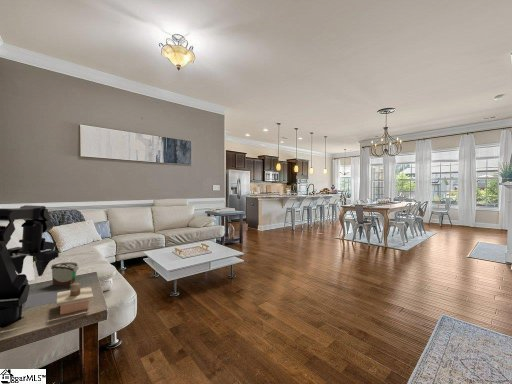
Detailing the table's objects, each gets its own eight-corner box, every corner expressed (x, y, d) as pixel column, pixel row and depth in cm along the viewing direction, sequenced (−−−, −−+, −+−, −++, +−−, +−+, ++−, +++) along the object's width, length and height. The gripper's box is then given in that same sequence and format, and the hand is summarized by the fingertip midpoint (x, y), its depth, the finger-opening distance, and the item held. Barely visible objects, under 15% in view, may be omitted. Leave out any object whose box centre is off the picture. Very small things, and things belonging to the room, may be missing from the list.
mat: (67, 301, 96) (67, 299, 96) (23, 309, 88) (23, 308, 88) (67, 289, 106) (67, 288, 106) (27, 296, 98) (27, 295, 98)
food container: (84, 283, 114) (85, 263, 114) (73, 288, 108) (74, 267, 108) (61, 280, 115) (63, 260, 115) (49, 285, 109) (51, 264, 109)
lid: (92, 299, 91) (93, 286, 91) (56, 306, 84) (57, 293, 84) (90, 288, 99) (91, 277, 99) (57, 294, 92) (58, 282, 92)
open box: (88, 309, 91) (88, 298, 91) (60, 316, 85) (60, 304, 85) (86, 301, 97) (87, 290, 97) (60, 306, 92) (61, 295, 92)
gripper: (71, 234, 99) (69, 270, 99) (32, 231, 101) (30, 266, 101) (46, 240, 88) (43, 280, 88) (2, 235, 89) (0, 275, 90)
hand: (29, 274), depth 92 cm, fingers open, 9 cm apart
